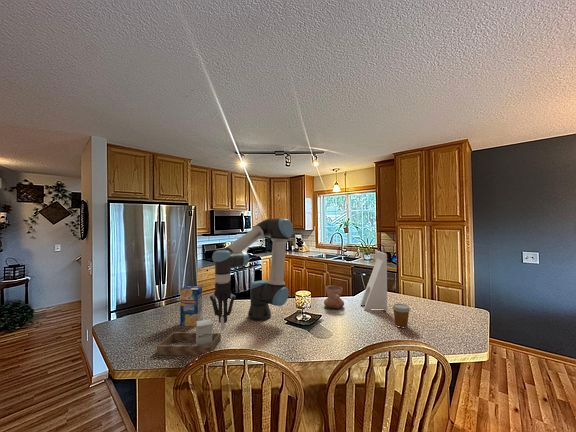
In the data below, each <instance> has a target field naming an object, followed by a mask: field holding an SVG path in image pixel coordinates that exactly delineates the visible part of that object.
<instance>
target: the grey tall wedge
mask: <svg viewBox="0 0 576 432" xmlns="http://www.w3.org/2000/svg"><path fill="white" fill-rule="evenodd" d="M359 303H360V304H359V306H360V305H365V306H363V309H364V310H363V311H372V310H371V309H384V310H385V311H387V312H388V254H387V253H386V252H382V251H379V250H378V249H377V250H376V249H375V250H374V265H373V268H372V272H371V274H370V277H369V280H368V282H367V285H366V287H365V290H364V293H363V295H362V298H361V300H360V302H359Z"/></svg>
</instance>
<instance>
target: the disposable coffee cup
mask: <svg viewBox="0 0 576 432" xmlns="http://www.w3.org/2000/svg"><path fill="white" fill-rule="evenodd" d="M392 309H393V315H394V322H395V323H394V325H395V326H396V325H397V326H400V327H406V326H407V327H408V322H409V315H410V310H411V309H410V306H409V305H407V304H404V303H394V304H393V305H392Z"/></svg>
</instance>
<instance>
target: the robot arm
mask: <svg viewBox="0 0 576 432" xmlns="http://www.w3.org/2000/svg"><path fill="white" fill-rule="evenodd" d="M293 233H294V226H293V224H292V221H291V220H290V219H288V218H267V219H264V220H262V221H260V222H258V223H257V224H256V225H254V226H252V228H251V230H249V231H248V232H246V233H245V234H243V235H242V236H241V237H239V238H238V239H236V240H235V241H234V242H233V241H232V243H230V244H229V245H227V246H225V248H223V249H221V250H220V249H219V250H215V251H213V253H212V256H211V259H212V261H213V263H214V282H215V283H214V293H213V294H211V295H210V296H209V299H210V301H211V304H212V309H213V313H214V315H215V316H217V317H218V323H220V331H224V330H225V329H226V324H227V322H228V316H230V315H231V313H232V309H233V306H234V302H235V299H236V298H237V295H235V294H233V293H232V290H231V285H232V283H231V273H232V272H231V270H232V269H235V268H240V267H242V268H243V267H244V266H247V265H248V264H249V263H250V255H249V254H248V253H247V252H245V251H244V250H246V249H247V248H249V247H250V246H251V245H253V244H254V243H256V242H257V241H258V240H261V239H262V240H263V238H265V237H270V240H271V241H272V247H271V261H270V272H269V273H270V276H269V280H267V279H266V280H265V279H262V280H256V281H253V282H251V284H250V290H249V292H250V294H249V295H250V306H249V309H248V312H247V318H248V320H250V321H254V322H261V321H266V320H268V319H270V318H271V317H272V312H271V309H270V306H269V305H272V306H276V307H281V306H284V305H285V304H286V302H287V301H288V299H289V295H290V292H289V291H290V290H288V288H287V287H286V282H285V281H284V278H285V261H286V247H287V242H288V241H289V240H290V237H292V235H293ZM229 298H230V301H229V305H228V300H229ZM217 302H218V303H217Z"/></svg>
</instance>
